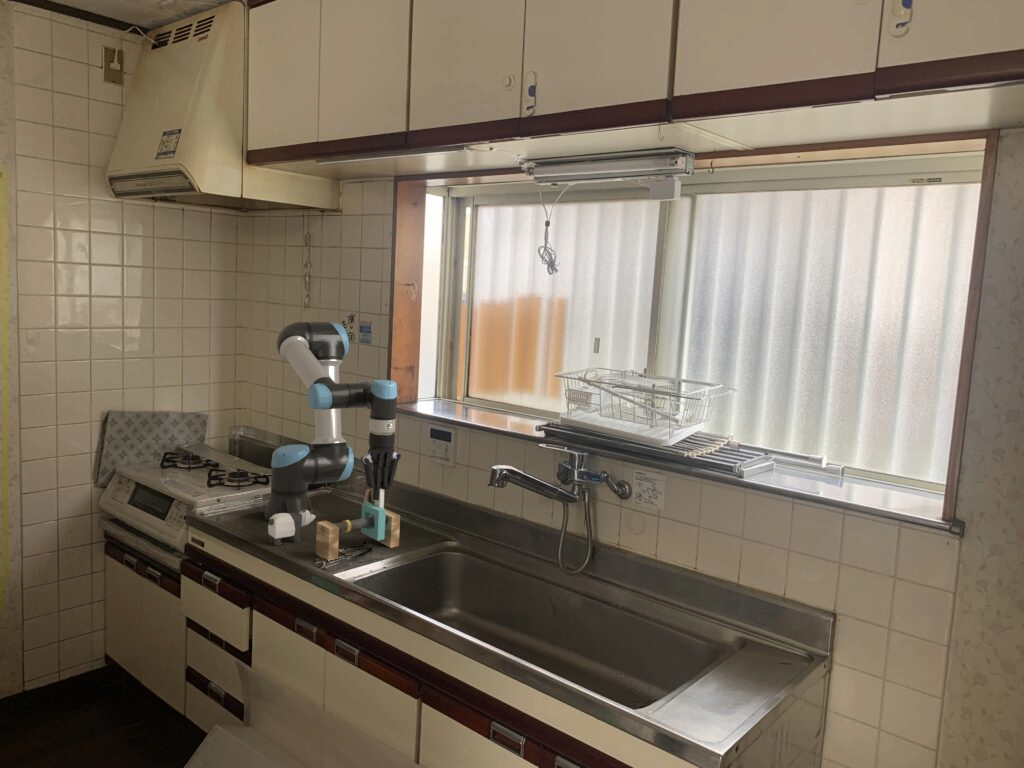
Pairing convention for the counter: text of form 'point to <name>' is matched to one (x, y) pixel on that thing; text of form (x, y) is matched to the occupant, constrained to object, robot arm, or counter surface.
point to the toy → (369, 497)
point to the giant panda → (288, 525)
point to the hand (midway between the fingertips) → (378, 509)
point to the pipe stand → (330, 532)
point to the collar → (379, 523)
